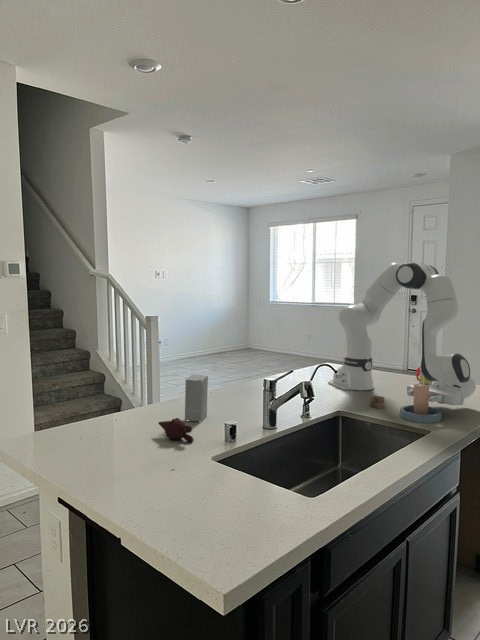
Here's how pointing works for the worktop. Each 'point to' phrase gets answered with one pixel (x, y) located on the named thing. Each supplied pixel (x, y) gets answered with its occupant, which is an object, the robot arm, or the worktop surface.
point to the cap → (418, 372)
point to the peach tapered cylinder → (421, 399)
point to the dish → (432, 416)
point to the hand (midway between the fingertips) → (419, 396)
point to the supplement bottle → (424, 380)
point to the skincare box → (196, 397)
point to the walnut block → (377, 402)
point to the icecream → (177, 429)
